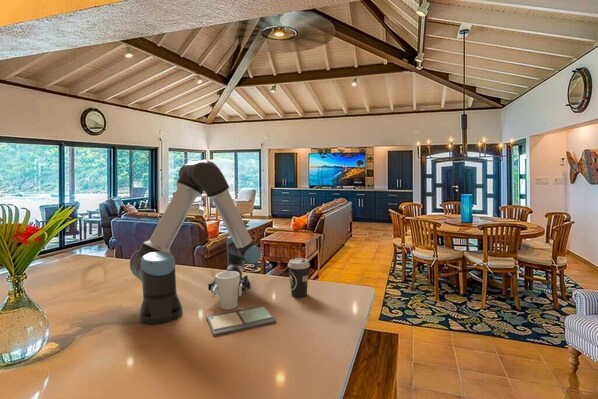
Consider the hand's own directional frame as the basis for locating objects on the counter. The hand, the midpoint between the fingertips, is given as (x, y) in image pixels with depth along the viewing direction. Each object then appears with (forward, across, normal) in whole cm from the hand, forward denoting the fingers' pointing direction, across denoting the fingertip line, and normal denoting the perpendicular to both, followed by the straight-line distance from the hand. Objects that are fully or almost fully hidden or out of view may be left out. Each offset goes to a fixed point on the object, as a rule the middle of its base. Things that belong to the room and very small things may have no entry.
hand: (226, 293), depth 133 cm
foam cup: (-4, 0, -7) cm, 8 cm away
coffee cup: (-13, -29, -7) cm, 32 cm away
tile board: (+9, -6, -7) cm, 13 cm away
